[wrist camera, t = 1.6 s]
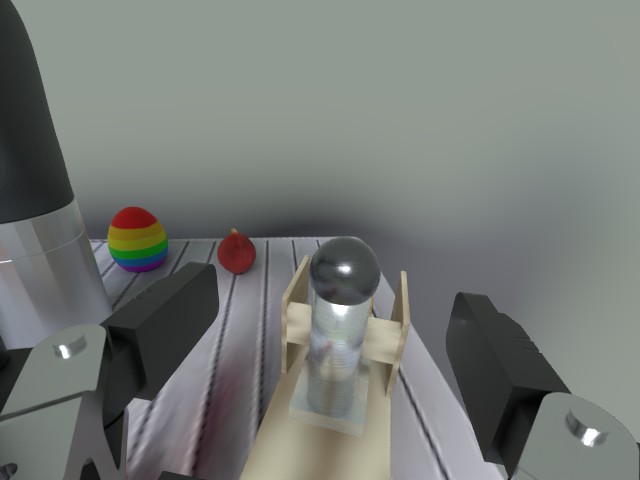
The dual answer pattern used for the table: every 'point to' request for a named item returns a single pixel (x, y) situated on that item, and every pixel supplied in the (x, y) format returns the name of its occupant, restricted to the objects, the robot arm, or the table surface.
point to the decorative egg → (137, 240)
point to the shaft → (337, 338)
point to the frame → (318, 442)
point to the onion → (236, 252)
